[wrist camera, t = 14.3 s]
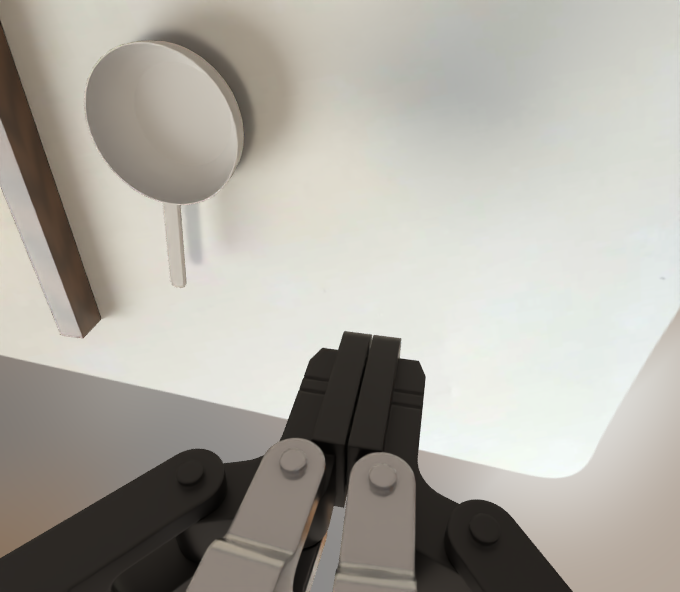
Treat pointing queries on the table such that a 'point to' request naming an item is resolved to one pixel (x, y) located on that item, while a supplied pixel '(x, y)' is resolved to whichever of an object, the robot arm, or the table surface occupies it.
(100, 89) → the saucepan
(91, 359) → the table surface
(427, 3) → the table surface
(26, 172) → the walnut rail
